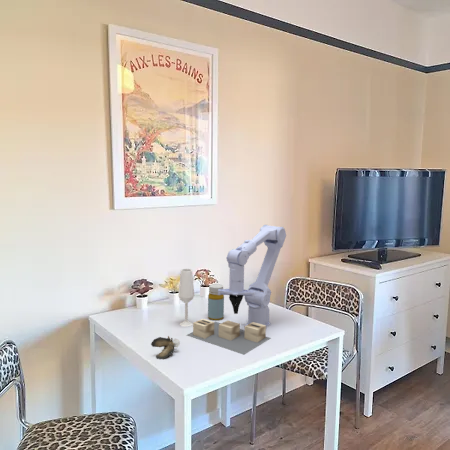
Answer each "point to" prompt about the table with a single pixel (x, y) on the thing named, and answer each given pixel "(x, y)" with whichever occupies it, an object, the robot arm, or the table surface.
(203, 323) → the two-bar birch block
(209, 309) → the bottle
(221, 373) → the table surface
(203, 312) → the table surface
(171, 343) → the eagle figurine
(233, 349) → the charcoal rubber mat
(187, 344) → the table surface
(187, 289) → the champagne flute
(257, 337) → the one-bar birch block
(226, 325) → the plain birch block
